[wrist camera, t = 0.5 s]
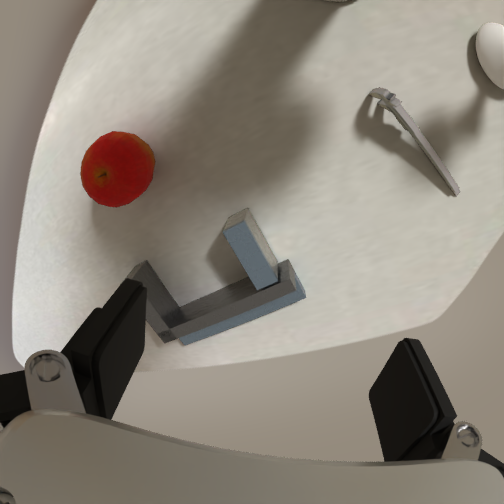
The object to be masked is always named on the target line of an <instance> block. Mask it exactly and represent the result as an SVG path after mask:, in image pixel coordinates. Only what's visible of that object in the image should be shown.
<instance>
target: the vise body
mask: <svg viewBox="0 0 504 504" xmlns="http://www.w3.org/2000/svg"><path fill="white" fill-rule="evenodd" d="M126 278H129V279H133V280H137V281H140V282H142V283H143V287H146V288H147V301H146V320H147V322H148V323H149V324H150V325H151V327H152V328H153V329H154V331H155V332H156V333H157V334H158V336H159V337H160V338H161V339H162V341H163V342H164V343H167V342H169V341H172V340H175V339H177V338H179V339H180V340H181V342H182V343H183V344H184V345H187V344H190V343H193V342H196V341H198V340H201V339H204V338H206V337H209V336H212V335H215V334H217V333H220V332H222V331H225V330H228V329H230V328H233V327H235V326H238V325H241V324H243V323H246V322H248V321H251V320H253V319H256V318H258V317H261V316H263V315H266V314H268V313H271V312H273V311H276V310H278V309H280V308H283V307H285V306H288V305H290V304H292V303H295V302H297V301H300V300H302V299H304V298H306V294H305V290H304V288H303V286H302V284H301V282H300V280H299V278H298V277H297V275H296V273H295V271H294V269H293V267H292V265H291V263H290V261H289V260H288V259H287V260H285V261H283V262H281V263H278V281H277V282H275V283H273V284H271V285H268V286H266V287H264V288H261V289H259V290H257V289H256V287H255V286H254V284H253V282H252V281H251V279H250V277H247V278H245V279H243V280H241V281H238V282H236V283H234V284H232V285H229V286H227V287H225V288H222V289H220V290H218V291H216V292H213V293H211V294H209V295H207V296H204V297H202V298H200V299H197V300H195V301H193V302H190V303H188V304H186V305H184V306H181V307H179V306H178V305H177V303H176V302H175V301H174V299H173V298H172V296H171V295H170V294H169V292H168V291H167V289H166V288H165V286H164V285H163V283H162V282H161V281H160V279H159V278H158V276H157V275H156V273H155V272H154V270H153V269H152V267H151V266H150V264H149V263H148V261H147V260H146V261H144V262H142V263H141V264H139V265H137V266H135V267H134V268H133V270H132V271H131V272H130V273H129V275H128V276H127V277H126ZM126 278H125V279H126ZM125 279H124V280H125ZM122 283H123V282H122ZM122 283H121V284H122ZM121 284H120V285H121Z"/></svg>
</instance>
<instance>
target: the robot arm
mask: <svg viewBox="0 0 504 504" xmlns="http://www.w3.org/2000/svg"><path fill="white" fill-rule="evenodd" d="M325 1H332V2H341V1H348V0H325ZM146 301H147V288H146V287H143V283H142V282H140V281H137V280H133V279H129V278H126V279H125V280H124V281H123V283H122V284H121V285H120V286H119V288H118V289H117V290H116V291H115V292H114V294H113V295H112V296H111V297H110V299H109V300H108V301H107V303H106V304H105V305H104V306H103V308H95V309H94V310H93V311H92V313H91V314H90V315H89V316H88V318H87V319H86V320H85V321H84V323H83V324H82V325H81V326H80V328H79V329H78V330H77V331H76V333H75V334H74V335H73V337H72V338H71V339H70V341H69V342H68V343H67V344H66V346H65V347H64V348H63V350H62V351H61V352H58V351H54V350H42V351H38V352H36V353H34V354H32V355H31V356H30V357H29V358H28V359H27V361H26V363H25V370H23V371H18V372H13V373H8V374H2V375H0V504H504V464H503V463H502V462H500V461H499V460H497V459H496V458H494V457H493V456H491V455H490V454H488V453H487V452H485V451H484V450H482V449H481V446H482V437H481V434H480V432H479V431H478V429H477V428H476V427H475V426H473V425H472V424H470V423H468V422H465V421H460V422H457V423H456V424H454V422H453V420H454V419H455V418H456V417H457V415H456V413H455V410H454V408H453V406H452V404H451V402H450V400H449V398H448V395H447V394H446V392H445V389H444V388H443V385H442V383H441V381H440V379H439V377H438V375H437V373H436V371H435V369H434V367H433V365H432V363H431V362H430V359H429V358H428V356H427V354H426V352H425V350H424V348H423V346H422V344H421V342H420V341H419V340H417V339H409V338H404V339H403V340H402V341H400V342H398V344H397V346H396V347H395V349H394V351H393V353H392V354H391V356H390V358H389V360H388V361H387V363H386V365H385V367H384V368H383V370H382V371H381V373H380V374H379V376H378V378H377V379H376V381H375V383H374V384H373V386H372V387H371V389H370V391H369V400H370V404H371V408H372V411H373V415H374V419H375V423H376V426H377V431H378V435H379V439H380V444H381V448H382V452H383V457H384V461H385V462H345V461H344V462H343V461H322V460H306V459H295V458H285V457H277V456H269V455H261V454H254V453H248V452H241V451H235V450H230V449H224V448H219V447H214V446H209V445H204V444H199V443H195V442H191V441H186V440H182V439H178V438H174V437H170V436H166V435H162V434H158V433H155V432H151V431H147V430H144V429H140V428H137V427H133V426H130V425H127V424H123V423H120V422H116V421H113V420H111V419H112V417H113V414H114V412H115V410H116V408H117V406H118V404H119V402H120V400H121V397H122V395H123V393H124V391H125V389H126V387H127V385H128V383H129V381H130V378H131V377H132V375H133V372H134V370H135V368H136V366H137V364H138V362H139V360H140V358H141V356H142V354H143V351H144V345H145V320H146ZM13 497H14V498H13Z"/></svg>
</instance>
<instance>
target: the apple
mask: <svg viewBox="0 0 504 504" xmlns="http://www.w3.org/2000/svg"><path fill="white" fill-rule="evenodd" d="M154 166H155V158H154V154H153V151H152V150H151V148H150V147H149V145H148V144H147V143H146V142H144V141H143V140H142V139H140V138H139V137H138V136H136V135H135V134H130V133H125V132H116V131H112V132H110V133H108V134H105V135H103V136H101V137H100V138H98V139H97V140H96V141H95V142H94V143H93V144H92V145H91V146H90V147H89V148H88V150H87V151H86V153H85V155H84V158H83V160H82V164H81V173H80V175H81V180H82V185H83V187H84V189H85V190H86V192H87V194H88V195H89V197H91V198H92V199H93V200H95V201H96V202H97V203H98V204H102V205H105V206H109V207H119V206H123V205H126V204H129V203H130V202H132V201H133V200H135V199H136V198H137V197H139V196H140V195H141V194H142V193H143V192H144V191H146V189H147V188H148V186H149V184H150V182H151V181H152V178H153V172H154Z"/></svg>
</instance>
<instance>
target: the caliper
mask: <svg viewBox="0 0 504 504" xmlns="http://www.w3.org/2000/svg"><path fill="white" fill-rule="evenodd" d="M369 95H370V96H371V97H375V98H378V99H381V100H380V101H379V102H378V104H379V105H380V106H381V107H383V108H385V109H387V110H388V111H390V112H392V113H393V114H394V115H395V117H396V119H397V120H398V121H399V123H400V124H401V125H402V126H403V128H404V129H405V130H407V131H409V133H410V134H411V135H412V136H413V138H414V139H415V140H416V142H417V143H418V144H419V145H420V147H421V148H422V149H423V151H424V152H425V153H426V155H427V156H428V158H429V159H430V160H431V162H432V163H433V164H434V166H435V167H436V169H437V170H438V172H439V173H440V175H441V176H442V177H443V179H444V180H445V182H446V183H447V185H448V186H449V187H450V189H451V190H452V191H453V193H454V194H455V196H457V195H458V194H459V193H460V190H459V187H458V185H457V183H456V182H455V180H454V179H453V177H452V176H451V174H450V172H449V171H448V169H447V168H446V166H445V165H444V163H443V162H442V160H441V159H440V158H439V156H438V155H437V153H436V152H435V150H434V149H433V148H432V146H431V145H430V143H429V142H428V141H427V139H426V138H425V137H424V135H423V134H422V133H421V131H420V130H419V129H420V128H419V127H418V126H417V124H416V123H415V122H414V120H413V119H412V118H411V117H410V115H409V114H408V113H407V112H406V110H405V109H404V108H403V107H402V105H401V104H400V103H401V102H402V101H400V100H399V99H397V98H395V96H396V94H393V93H390V92H389V90H387V89H384V88H380V87H379V88H375V89H373V90H372V91H371V92H370V93H369Z"/></svg>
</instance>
